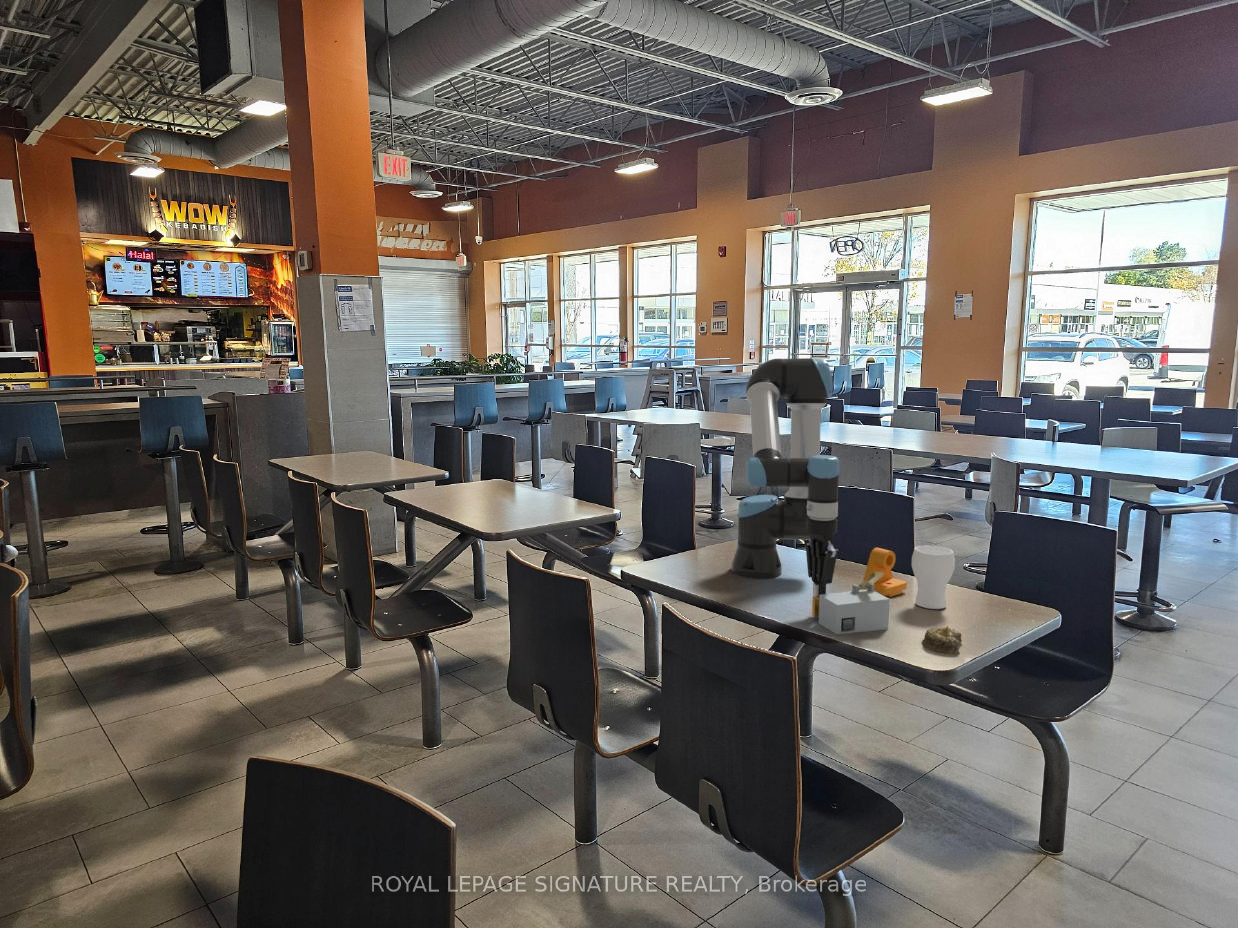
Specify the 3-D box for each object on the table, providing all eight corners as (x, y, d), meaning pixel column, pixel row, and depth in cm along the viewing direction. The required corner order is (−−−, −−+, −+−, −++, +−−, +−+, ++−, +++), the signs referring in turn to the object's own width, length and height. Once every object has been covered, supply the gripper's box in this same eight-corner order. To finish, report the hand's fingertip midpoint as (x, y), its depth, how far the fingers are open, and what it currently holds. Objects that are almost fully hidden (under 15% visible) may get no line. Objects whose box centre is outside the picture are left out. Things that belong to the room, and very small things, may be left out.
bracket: (884, 598, 215) (886, 556, 213) (862, 592, 221) (863, 550, 219) (907, 591, 221) (909, 550, 219) (885, 584, 227) (887, 544, 225)
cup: (909, 608, 207) (912, 553, 205) (909, 596, 217) (912, 543, 214) (953, 613, 203) (956, 556, 201) (951, 600, 213) (954, 546, 211)
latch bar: (857, 590, 196) (855, 585, 196) (868, 589, 197) (867, 584, 197) (874, 576, 189) (872, 571, 189) (885, 575, 190) (883, 570, 190)
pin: (812, 615, 199) (812, 596, 199) (829, 613, 201) (830, 594, 200) (838, 632, 188) (839, 612, 187) (856, 630, 189) (857, 610, 188)
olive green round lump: (921, 653, 178) (922, 631, 177) (921, 638, 187) (922, 616, 186) (969, 659, 174) (970, 636, 174) (966, 643, 184) (968, 621, 183)
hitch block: (818, 625, 195) (819, 587, 194) (868, 619, 199) (870, 582, 198) (836, 637, 188) (837, 597, 186) (888, 630, 192) (889, 591, 190)
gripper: (795, 512, 202) (793, 601, 206) (822, 523, 190) (819, 617, 193) (821, 511, 204) (818, 598, 208) (849, 521, 192) (845, 614, 195)
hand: (818, 607), depth 200 cm, fingers closed
